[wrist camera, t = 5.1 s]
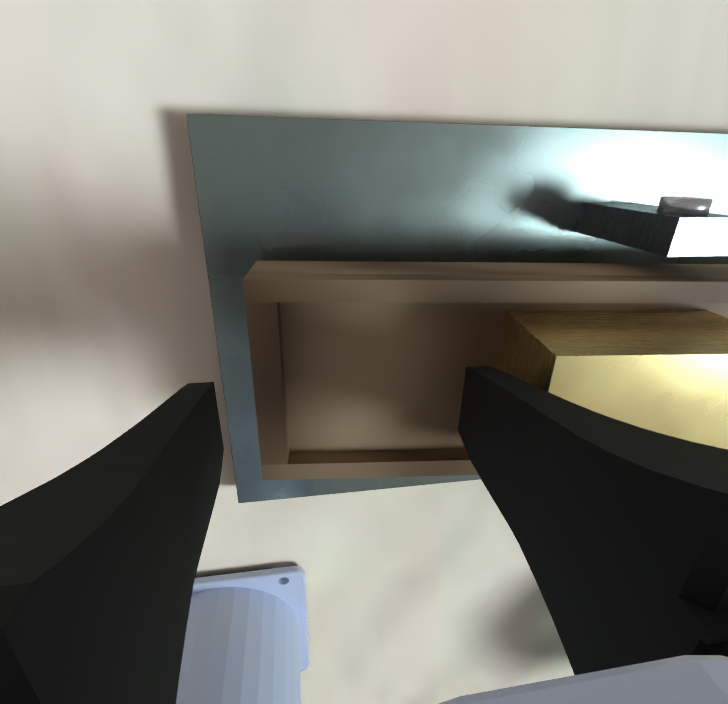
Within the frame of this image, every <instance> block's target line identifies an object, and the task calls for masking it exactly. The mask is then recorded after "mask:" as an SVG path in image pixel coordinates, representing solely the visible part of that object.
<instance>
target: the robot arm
mask: <svg viewBox="0 0 728 704" xmlns="http://www.w3.org/2000/svg"><path fill="white" fill-rule="evenodd" d="M458 431H459V434H460V437H461V439H462V442H463V444H464V447H465V449H466V452H467V454H468V456H469V458H470V461H471V462H472V464H473V466H474V468H475V469H476V471H477V473H478V475H479V476H480V478H481V480H482V481H483V483H484V485H485V486H486V488H487V490H488V491H489V493H490V495H491V496H492V498H493V500H494V501H495V503H496V505H497V506H498V508H499V510H500V511H501V513H502V515H503V516H504V518H505V520H506V521H507V523H508V525H509V526H510V528H511V530H512V532H513V534H514V536H515V537H516V539H517V541H518V543H519V545H520V547H521V549H522V551H523V554H524V556H525V558H526V560H527V562H528V564H529V566H530V569H531V571H532V573H533V575H534V577H535V579H536V582H537V584H538V586H539V589H540V591H541V593H542V596H543V598H544V600H545V603H546V605H547V607H548V610H549V612H550V614H551V617H552V619H553V621H554V624H555V626H556V629H557V631H558V634H559V636H560V639H561V641H562V644H563V646H564V649H565V651H566V654H567V656H568V659H569V661H570V664H571V667H572V669H573V672H574V674H575V675H574V676H569V677H563V678H558V679H552V680H547V681H542V682H536V683H531V684H525V685H520V686H514V687H509V688H503V689H498V690H493V691H487V692H482V693H476V694H471V695H465V696H460V697H457V698H454V699H451V700H448V701H445V702H442V703H439V704H728V449H723V448H718V447H714V446H709V445H705V444H700V443H696V442H692V441H688V440H684V439H680V438H676V437H673V436H669V435H665V434H661V433H657V432H654V431H651V430H647V429H644V428H641V427H637V426H634V425H631V424H628V423H625V422H622V421H619V420H616V419H613V418H610V417H608V416H605V415H602V414H600V413H597V412H594V411H592V410H589V409H587V408H584V407H582V406H580V405H577V404H575V403H572V402H570V401H567V400H565V399H563V398H561V397H558V396H556V395H554V394H552V393H549V392H547V391H545V390H543V389H541V388H538V387H536V386H534V385H532V384H530V383H528V382H526V381H523V380H521V379H519V378H517V377H515V376H513V375H510V374H508V373H506V372H503V371H501V370H499V369H496V368H493V367H490V366H474V367H466V371H465V379H464V387H463V394H462V402H461V409H460V417H459V424H458ZM223 451H224V448H223V441H222V434H221V428H220V421H219V414H218V408H217V401H216V394H215V387H214V382H207V383H190V384H187V385H185V386H184V387H183V388H181V389H180V390H179V391H177V392H176V393H175V394H174V395H172V396H171V397H170V398H169V399H168V400H166V401H165V402H164V403H163V404H161V405H160V406H159V407H158V408H156V409H155V410H154V411H153V412H151V413H150V414H149V415H148V416H146V417H145V418H144V419H143V420H141V421H140V422H139V423H138V424H136V425H135V426H133V427H132V428H131V429H129V430H128V431H127V432H125V433H124V434H122V435H121V436H120V437H118V438H117V439H115V440H114V441H113V442H111V443H110V444H109V445H107V446H106V447H104V448H103V449H101V450H100V451H98V452H97V453H95V454H94V455H92V456H91V457H89V458H88V459H86V460H84V461H83V462H81V463H79V464H78V465H76V466H74V467H73V468H71V469H69V470H68V471H66V472H64V473H63V474H61V475H59V476H57V477H56V478H54V479H52V480H50V481H48V482H46V483H45V484H43V485H41V486H39V487H37V488H35V489H33V490H31V491H29V492H27V493H25V494H23V495H21V496H19V497H17V498H15V499H13V500H11V501H10V502H8V503H6V504H4V505H2V506H0V704H301V680H300V672H301V671H304V670H306V669H307V668H308V667H309V650H308V631H307V613H306V594H305V575H304V570H303V569H302V568H301V567H299V566H288V567H280V568H272V569H264V570H256V571H248V572H240V573H232V574H224V575H215V576H207V577H199V578H195V576H196V571H197V567H198V563H199V559H200V556H201V552H202V548H203V544H204V541H205V537H206V533H207V529H208V526H209V522H210V518H211V515H212V511H213V507H214V503H215V499H216V496H217V492H218V488H219V484H220V476H221V469H222V460H223Z"/></svg>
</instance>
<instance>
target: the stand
mask: <svg viewBox="0 0 728 704" xmlns="http://www.w3.org/2000/svg"><path fill="white" fill-rule="evenodd" d="M187 122H188V129H189V137H190V144H191V152H192V159H193V166H194V174H195V181H196V189H197V196H198V204H199V211H200V219H201V226H202V234H203V241H204V249H205V256H206V263H207V271H208V278H209V286H210V293H211V301H212V308H213V316H214V323H215V331H216V338H217V346H218V353H219V361H220V368H221V375H222V383H223V390H224V398H225V405H226V413H227V420H228V428H229V435H230V443H231V450H232V458H233V465H234V472H235V480H236V487H237V495H238V502H239V503H245V502H255V501H265V500H275V499H285V498H295V497H305V496H315V495H325V494H336V493H346V492H356V491H366V490H376V489H386V488H396V487H406V486H416V485H427V484H437V483H447V482H457V481H467V480H477V479H481V478H480V476H479V475H452V476H412V477H372V478H332V479H293V480H263V478H262V468H261V457H260V447H259V437H258V427H257V417H256V407H255V397H254V387H253V377H252V367H251V357H250V347H249V337H248V327H247V317H246V307H245V297H244V287H243V278H244V277H245V276H246V274H247V273H248V272H249V270H250V269H251V268H252V266H253V265H254V264H255V262H256V261H377V262H504V263H630V264H728V134H716V133H689V132H662V131H635V130H608V129H581V128H555V127H528V126H501V125H474V124H447V123H421V122H394V121H367V120H340V119H313V118H286V117H260V116H233V115H206V114H187Z"/></svg>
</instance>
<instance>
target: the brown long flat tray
mask: <svg viewBox="0 0 728 704" xmlns="http://www.w3.org/2000/svg"><path fill="white" fill-rule="evenodd" d="M243 287H244V297H245V307H246V317H247V327H248V337H249V347H250V357H251V367H252V377H253V387H254V397H255V407H256V417H257V427H258V437H259V447H260V457H261V468H262V478H263V480H293V479H332V478H372V477H412V476H452V475H478V473H477V471H476V469H475V468H474V466H473V464H472V462H471V461H470V458H469V456H468V454H467V452H466V449H465V447H464V444H463V442H462V439H461V437H460V434H459V431H458V424H459V417H460V409H461V402H462V394H463V387H464V379H465V371H466V367H474V366H490V367H493V368H496V369H497V365H498V359H499V352H500V346H501V340H502V334H503V328H504V322H505V316H506V311H567V310H709V311H711V312H714V313H716V314H719V315H721V316H724V317H726V318H728V264H630V263H504V262H377V261H256V262H255V264H254V265H253V266H252V268H251V269H250V270H249V272H248V273H247V274H246V276H245V277H244V278H243Z"/></svg>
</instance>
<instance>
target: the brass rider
mask: <svg viewBox="0 0 728 704" xmlns="http://www.w3.org/2000/svg"><path fill="white" fill-rule="evenodd" d="M497 369H499V370H501V371H503V372H506V373H508V374H510V375H513V376H515V377H517V378H519V379H521V380H523V381H526V382H528V383H530V384H532V385H534V386H536V387H538V388H541V389H543V390H545V391H547V392H549V393H552V394H554V395H556V396H558V397H561V398H563V399H565V400H567V401H570V402H572V403H575V404H577V405H580V406H582V407H584V408H587V409H589V410H592V411H594V412H597V413H600V414H602V415H605V416H608V417H610V418H613V419H616V420H619V421H622V422H625V423H628V424H631V425H634V426H637V427H641V428H644V429H647V430H651V431H654V432H657V433H661V434H665V435H669V436H673V437H676V438H680V439H684V440H688V441H692V442H696V443H700V444H705V445H709V446H714V447H718V448H723V449H728V318H726V317H724V316H721V315H719V314H716V313H714V312H711V311H709V310H567V311H506V316H505V322H504V328H503V334H502V340H501V346H500V352H499V359H498V365H497Z"/></svg>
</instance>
